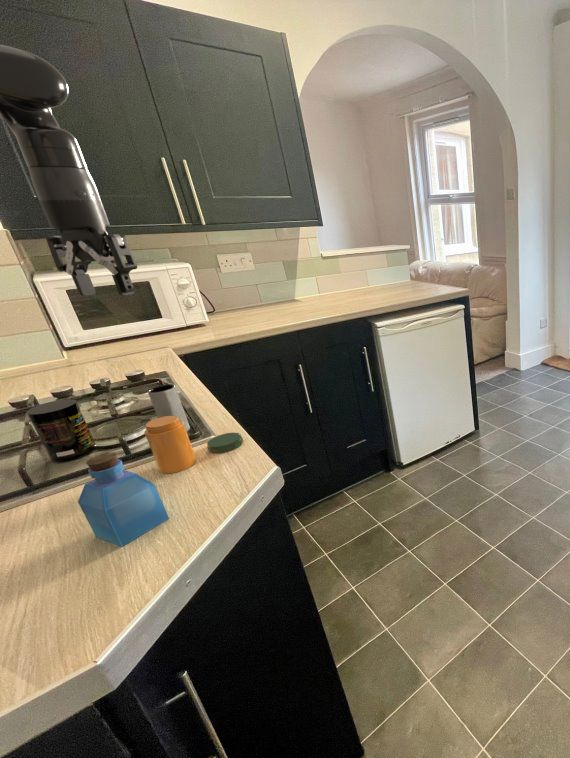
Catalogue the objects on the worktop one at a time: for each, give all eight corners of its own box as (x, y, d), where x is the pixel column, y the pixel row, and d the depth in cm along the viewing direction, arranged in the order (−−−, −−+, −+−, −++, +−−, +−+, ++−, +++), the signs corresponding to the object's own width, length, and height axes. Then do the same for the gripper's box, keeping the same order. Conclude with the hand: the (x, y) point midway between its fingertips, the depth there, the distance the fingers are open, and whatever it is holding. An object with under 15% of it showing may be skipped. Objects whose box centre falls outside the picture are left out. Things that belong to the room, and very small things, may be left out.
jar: (153, 475, 75) (134, 430, 72) (168, 459, 80) (151, 416, 77) (189, 470, 76) (172, 425, 73) (201, 455, 81) (186, 412, 78)
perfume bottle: (122, 546, 59) (87, 474, 54) (95, 536, 61) (60, 466, 56) (169, 518, 64) (140, 450, 60) (143, 510, 66) (113, 444, 62)
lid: (236, 436, 88) (234, 429, 88) (247, 444, 85) (245, 437, 84) (205, 447, 84) (202, 440, 84) (215, 456, 81) (212, 449, 80)
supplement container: (100, 442, 87) (79, 396, 84) (95, 455, 82) (73, 407, 78) (55, 452, 84) (31, 405, 80) (47, 467, 79) (21, 417, 75)
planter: (169, 438, 88) (152, 393, 84) (160, 433, 90) (143, 389, 86) (193, 430, 91) (178, 386, 88) (185, 425, 94) (169, 382, 90)
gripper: (128, 198, 73) (160, 291, 79) (61, 200, 75) (97, 291, 81) (80, 196, 66) (119, 299, 72) (9, 199, 68) (52, 299, 74)
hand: (107, 295), depth 77 cm, fingers open, 8 cm apart
